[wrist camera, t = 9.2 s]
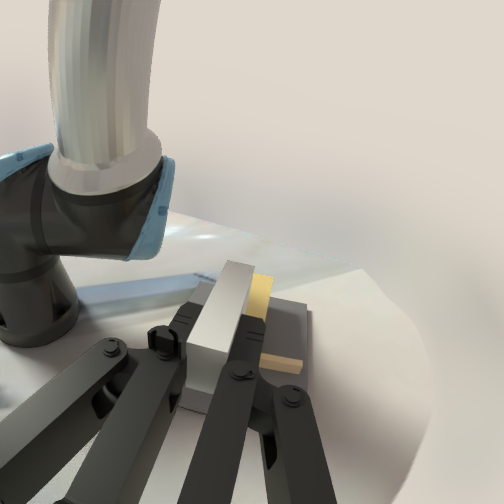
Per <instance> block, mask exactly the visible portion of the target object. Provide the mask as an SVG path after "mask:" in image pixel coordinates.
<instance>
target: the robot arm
mask: <svg viewBox="0 0 504 504" xmlns="http://www.w3.org/2000/svg"><path fill="white" fill-rule="evenodd" d="M160 1H161V0H49V16H48V60H49V78H50V90H51V99H52V108H53V116H54V122H55V129H56V136H57V141H58V145H57V146H56V148H55V149H54V146H53V144H52V143H49V144H42V145H38V146H33V147H29V148H25V149H21V150H18V151H14V152H11V153H8V154H4V155H1V156H0V339H2V340H3V341H4V342H6V343H8V344H10V345H13V346H17V347H36V346H40V345H44V344H47V343H50V342H52V341H54V340H56V339H58V338H59V337H61V336H62V335H64V334H65V333H66V332H67V331H68V330H69V329H70V328H71V327H72V326H73V324H74V323H75V321H76V320H77V317H78V314H79V302H78V297H77V293H76V290H75V287H74V286H73V284H72V282H71V280H70V278H69V276H68V274H67V272H66V270H65V268H64V266H63V264H62V262H61V260H60V256H59V255H61V256H75V257H88V258H100V259H113V260H122V261H129V260H148V259H152V258H154V257H155V256H156V255H157V254H158V253H159V251H160V249H161V245H162V241H163V237H164V232H165V226H166V221H167V214H168V212H167V210H168V208H169V202H170V198H171V192H172V186H173V180H174V173H175V161H174V160H173V159H171V158H168V157H167V156H165V155H164V156H161V154H162V148H161V143H160V140H159V139H158V137H157V136H156V135H155V134H154V133H153V132H152V131H151V130H149V129H148V128H147V114H148V96H149V83H150V72H151V64H152V55H153V46H154V39H155V32H156V25H157V19H158V12H159V7H160ZM254 268H255V266H251V265H247V264H242V263H238V262H233V261H229V260H227V262H226V264H225V266H224V268H223V270H222V272H221V274H220V276H219V278H218V280H217V282H216V284H215V285H214V287H213V289H212V291H211V293H210V295H209V297H208V299H207V301H206V303H205V305H200V304H196V303H193V302H189V301H188V302H187V303H185V304H184V305H182V306H180V308H179V310H178V311H177V313H176V315H175V316H174V318H173V320H172V321H171V323H170V324H169V326H165V325H162V326H156V327H154V328H151V329H150V330H149V331H148V332H147V334H148V346H149V348H147V349H130V348H127V346H126V344H125V343H124V342H123V341H122V340H120V339H118V338H105V339H103V340H101V341H99V342H98V343H97V344H95V345H94V346H93V347H92V348H90V349H89V350H88V351H86V352H85V353H84V354H83V355H81V356H80V357H79V358H78V359H76V360H75V361H74V362H73V363H71V364H70V365H69V366H68V367H66V368H65V369H64V370H63V371H61V372H60V373H59V374H58V375H57V376H55V377H54V378H53V379H52V380H50V381H49V382H48V383H47V384H45V385H44V386H43V387H42V388H41V389H39V390H38V391H37V392H36V393H34V394H33V395H32V396H31V397H30V398H28V399H27V400H26V401H25V402H24V403H22V404H21V405H20V406H19V407H18V408H16V409H15V410H14V411H13V412H12V413H10V414H9V415H8V416H7V417H6V418H4V419H3V420H2V421H1V422H0V504H26V503H27V502H28V501H30V500H31V499H32V498H33V497H34V496H35V495H36V494H37V493H38V492H39V491H40V490H41V489H42V488H43V487H44V486H45V485H46V484H47V483H48V482H49V481H50V480H51V479H52V478H53V477H54V476H55V475H56V474H57V473H58V472H59V471H60V470H61V469H62V468H63V467H64V466H65V465H66V464H67V463H68V462H69V461H70V460H71V459H72V458H73V457H74V456H75V455H76V454H77V453H78V452H79V451H80V450H81V449H82V448H83V447H84V446H85V445H86V444H87V443H88V442H89V441H90V440H91V439H92V438H93V437H94V436H95V435H96V434H97V433H98V432H99V431H100V432H99V434H98V436H97V437H96V439H95V441H94V443H93V445H92V447H91V448H90V450H89V452H88V454H87V456H86V458H85V459H84V461H83V463H82V465H81V467H80V469H79V471H78V473H77V474H76V476H75V478H74V480H73V482H72V484H71V486H70V488H69V490H68V492H67V494H66V495H65V497H64V498H63V499H61V500H59V501H56V502H54V503H53V504H138V503H139V501H140V498H141V496H142V493H143V491H144V488H145V486H146V483H147V481H148V478H149V476H150V473H151V471H152V468H153V466H154V463H155V461H156V458H157V456H158V453H159V451H160V448H161V446H162V444H163V441H164V439H165V436H166V434H167V431H168V429H169V426H170V424H171V421H172V419H173V417H174V414H175V412H176V409H177V407H178V404H179V402H180V400H181V397H182V388H183V385H184V383H185V381H186V383H185V387H188V388H191V389H195V390H198V391H202V392H205V393H209V394H213V397H212V400H211V403H210V406H209V409H208V412H207V415H206V418H205V421H204V424H203V427H202V430H201V433H200V436H199V439H198V442H197V445H196V448H195V451H194V454H193V457H192V460H191V463H190V466H189V469H188V472H187V475H186V478H185V481H184V484H183V487H182V490H181V493H180V496H179V499H178V502H177V504H230V503H231V499H232V495H233V490H234V486H235V482H236V477H237V473H238V468H239V464H240V459H241V455H242V450H243V446H244V441H245V436H246V431H247V427H249V428H251V429H253V430H255V431H257V432H259V436H260V444H261V453H262V461H263V468H264V476H265V484H266V492H267V499H268V504H337V501H336V497H335V493H334V489H333V485H332V481H331V477H330V473H329V469H328V465H327V462H326V458H325V454H324V450H323V446H322V442H321V439H320V435H319V431H318V427H317V423H316V420H315V416H314V412H313V409H312V405H311V401H310V398H309V396H308V394H307V392H306V391H304V390H303V389H302V388H300V387H298V386H296V385H283V386H281V387H279V388H278V387H276V386H274V385H272V384H270V383H269V382H267V381H266V380H265V379H263V378H262V376H261V374H260V372H259V362H260V357H261V352H262V346H263V341H264V335H265V330H266V325H265V323H264V320H263V318H258V317H254V316H249V315H245V312H246V308H247V304H248V299H249V294H250V288H251V283H252V278H253V273H254Z"/></svg>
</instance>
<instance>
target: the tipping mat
mask: <svg viewBox="0 0 504 504" xmlns="http://www.w3.org/2000/svg"><path fill="white" fill-rule="evenodd" d="M213 287H214V284H210V283H206V282H201V281H200V282H199V284H198V286H197V287H196V289H195V291H194V292H193V294H192V295H191V297H190V299H189V300H188V301H189V302H193V303H196V304H200V305H205V303H206V301H207V299H208V297H209V295H210V293H211V291H212V289H213ZM265 325H266V330H265V335H264V341H263V346H262V352H261V357H260V362H259V372H260V374H261V376H262V378H263V379H265V380H266V381H267V382H269V383H270V384H272V385H274V386H276V387H278V388H279V387H281V386H283V385H296V386H298V387H300V388H302V389H303V390H304V391H306V392H307V304H303V303H298V302H293V301H288V300H283V299H278V298H274V297H270V298H269V303H268V308H267V313H266V318H265ZM185 383H186V381H185ZM185 383H184V385H183V388H182V397H181V400H180V402H179V404H178V406H180V407H183V408H187V409H190V410H193V411H197V412H201V413H204V414H207V412H208V409H209V406H210V403H211V400H212V397H213V394H209V393H205V392H202V391H198V390H195V389H191V388H188V387H185Z"/></svg>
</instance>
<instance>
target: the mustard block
mask: <svg viewBox="0 0 504 504" xmlns="http://www.w3.org/2000/svg"><path fill="white" fill-rule="evenodd" d="M273 278H274V277H270V276H265V275H261V274H256V273H253V278H252V283H251V288H250V294H249V299H248V304H247V308H246V312H245V315H249V316H254V317H258V318H263V320H264V323H265V318H266V313H267V308H268V303H269V298H270V293H271V288H272V283H273Z"/></svg>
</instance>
